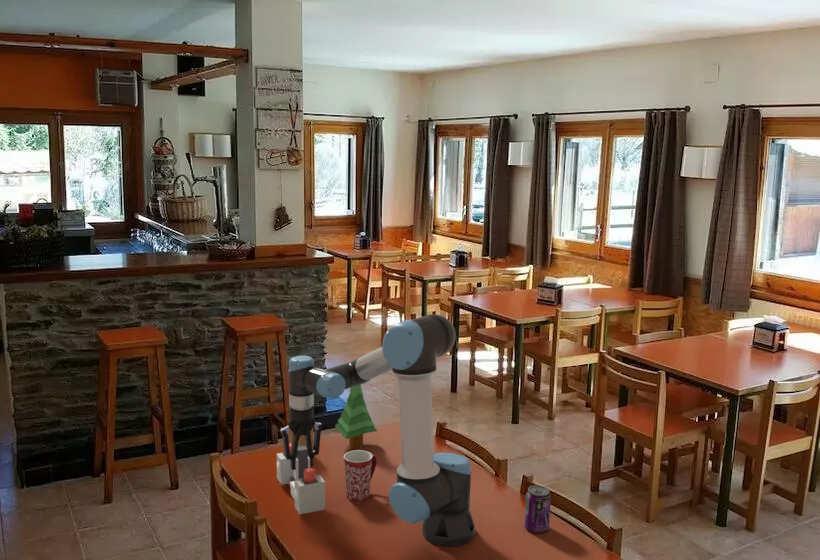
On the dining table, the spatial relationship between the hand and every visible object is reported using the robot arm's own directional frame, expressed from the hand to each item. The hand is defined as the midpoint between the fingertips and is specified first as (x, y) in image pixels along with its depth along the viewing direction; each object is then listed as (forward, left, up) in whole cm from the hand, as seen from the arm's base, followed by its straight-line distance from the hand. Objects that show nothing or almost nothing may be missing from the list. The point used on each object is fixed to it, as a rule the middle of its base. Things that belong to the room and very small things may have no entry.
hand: (301, 477), depth 229 cm
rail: (+2, 0, -7) cm, 7 cm away
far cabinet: (+12, 0, -7) cm, 14 cm away
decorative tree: (+30, -30, -7) cm, 43 cm away
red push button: (+12, 0, +3) cm, 13 cm away
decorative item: (+30, -9, -7) cm, 33 cm away
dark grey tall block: (0, 0, -7) cm, 7 cm away
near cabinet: (-8, 0, -7) cm, 10 cm away
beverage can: (-46, -57, -7) cm, 73 cm away
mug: (-6, -18, -7) cm, 20 cm away
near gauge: (-8, 0, +3) cm, 8 cm away
